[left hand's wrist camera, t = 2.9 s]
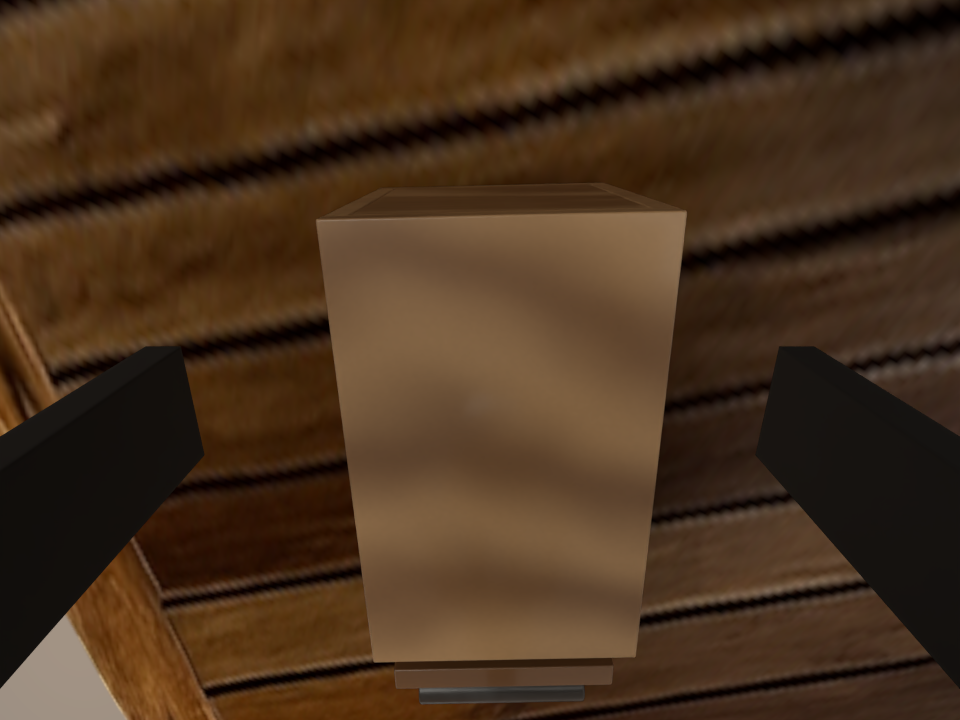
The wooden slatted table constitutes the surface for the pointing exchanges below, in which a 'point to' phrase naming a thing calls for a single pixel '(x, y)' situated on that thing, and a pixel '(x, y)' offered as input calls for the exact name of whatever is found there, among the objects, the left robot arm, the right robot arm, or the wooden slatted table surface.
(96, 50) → the wooden slatted table surface
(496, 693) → the drawer
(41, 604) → the left robot arm
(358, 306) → the cabinet
